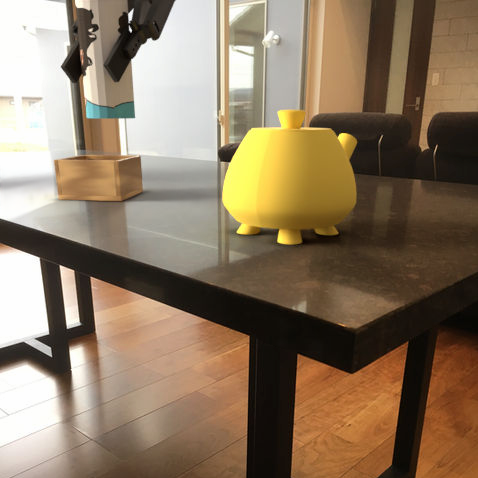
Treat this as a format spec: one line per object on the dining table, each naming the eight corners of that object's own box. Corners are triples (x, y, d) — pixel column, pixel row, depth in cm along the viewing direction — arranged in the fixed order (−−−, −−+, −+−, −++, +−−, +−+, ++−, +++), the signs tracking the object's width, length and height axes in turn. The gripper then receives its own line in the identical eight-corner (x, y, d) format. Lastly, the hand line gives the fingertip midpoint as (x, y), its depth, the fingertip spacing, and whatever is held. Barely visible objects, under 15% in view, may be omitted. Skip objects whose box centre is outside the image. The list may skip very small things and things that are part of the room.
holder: (58, 199, 86) (53, 159, 83) (86, 190, 96) (82, 154, 93) (121, 201, 84) (118, 160, 82) (143, 191, 94) (140, 155, 92)
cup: (137, 117, 77) (129, 0, 71) (132, 118, 71) (123, -10, 65) (91, 117, 76) (79, -1, 71) (82, 118, 70) (69, -11, 64)
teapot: (303, 211, 76) (308, 109, 70) (398, 227, 65) (412, 109, 60) (196, 231, 63) (192, 109, 58) (293, 255, 52) (299, 109, 47)
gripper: (224, -24, 75) (163, 96, 67) (117, -11, 83) (53, 97, 76) (203, -80, 68) (134, 46, 61) (91, -60, 77) (18, 53, 70)
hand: (89, 74), depth 69 cm, fingers closed on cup, 7 cm apart
